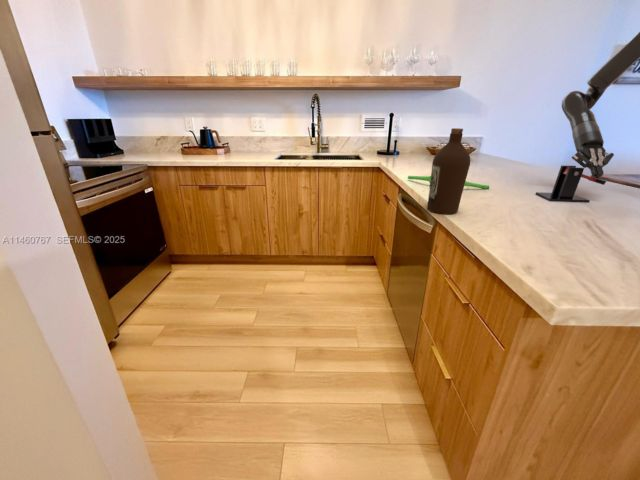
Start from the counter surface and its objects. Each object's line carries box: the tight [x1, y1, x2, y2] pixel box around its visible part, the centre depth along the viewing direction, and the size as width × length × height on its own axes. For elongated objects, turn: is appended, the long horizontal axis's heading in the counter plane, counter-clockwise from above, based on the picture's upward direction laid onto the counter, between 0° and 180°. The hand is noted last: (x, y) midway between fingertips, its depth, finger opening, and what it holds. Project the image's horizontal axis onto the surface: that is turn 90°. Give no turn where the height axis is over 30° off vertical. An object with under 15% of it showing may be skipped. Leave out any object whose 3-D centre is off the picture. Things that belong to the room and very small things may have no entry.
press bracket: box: [534, 165, 591, 204], centre depth 103 cm, size 13×9×12 cm
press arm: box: [563, 167, 607, 186], centre depth 101 cm, size 12×6×2 cm, turn 83°
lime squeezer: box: [407, 175, 490, 190], centre depth 121 cm, size 34×12×6 cm, turn 59°
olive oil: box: [426, 127, 471, 215], centre depth 89 cm, size 11×11×25 cm
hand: (598, 176), depth 101 cm, fingers closed
